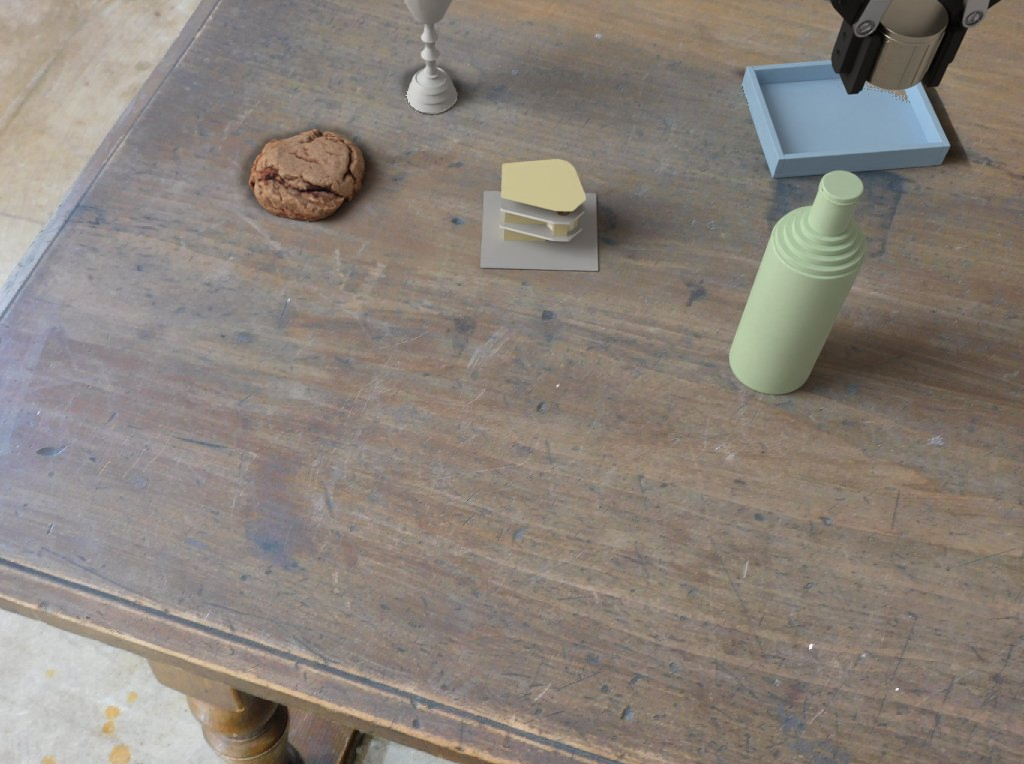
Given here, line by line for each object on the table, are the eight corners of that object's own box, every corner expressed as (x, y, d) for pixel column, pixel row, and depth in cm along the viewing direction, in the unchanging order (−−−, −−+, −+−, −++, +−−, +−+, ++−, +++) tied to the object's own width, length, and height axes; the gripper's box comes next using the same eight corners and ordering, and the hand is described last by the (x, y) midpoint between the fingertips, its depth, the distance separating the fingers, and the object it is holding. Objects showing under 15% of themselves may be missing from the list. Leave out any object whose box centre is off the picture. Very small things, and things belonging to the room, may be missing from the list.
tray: (899, 73, 103) (908, 53, 101) (940, 165, 96) (950, 145, 94) (741, 86, 102) (746, 66, 100) (772, 178, 96) (778, 159, 94)
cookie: (388, 176, 98) (386, 151, 95) (303, 242, 94) (299, 218, 91) (313, 125, 101) (309, 100, 99) (228, 187, 98) (222, 162, 95)
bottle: (799, 326, 88) (877, 145, 71) (820, 391, 84) (907, 217, 68) (720, 333, 87) (781, 152, 71) (738, 398, 84) (806, 225, 67)
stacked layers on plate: (480, 268, 92) (481, 223, 87) (483, 191, 96) (484, 144, 92) (598, 271, 91) (605, 226, 87) (596, 193, 96) (603, 147, 91)
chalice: (468, 121, 101) (468, -54, 86) (395, 124, 101) (383, -51, 86) (466, 69, 105) (466, -108, 89) (396, 71, 105) (384, -105, 90)
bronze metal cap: (854, 40, 64) (874, -13, 60) (923, 47, 63) (947, -7, 60) (854, 87, 62) (875, 34, 59) (926, 94, 61) (951, 41, 58)
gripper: (857, -200, 45) (758, 132, 61) (1248, -234, 46) (1049, 106, 61) (810, -289, 49) (728, 45, 65) (1170, -320, 49) (1002, 21, 65)
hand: (885, 72), depth 63 cm, fingers closed on bronze metal cap, 3 cm apart
